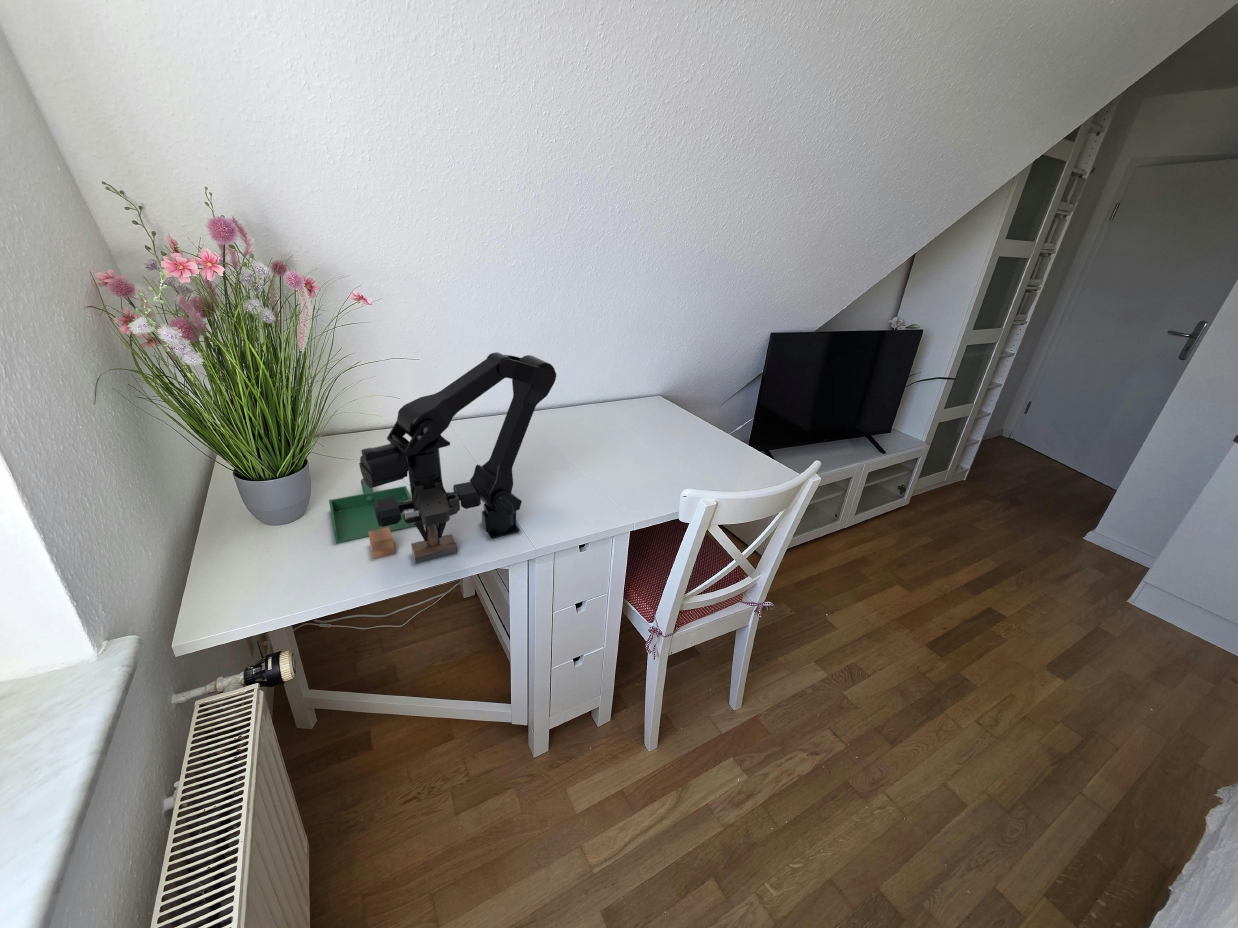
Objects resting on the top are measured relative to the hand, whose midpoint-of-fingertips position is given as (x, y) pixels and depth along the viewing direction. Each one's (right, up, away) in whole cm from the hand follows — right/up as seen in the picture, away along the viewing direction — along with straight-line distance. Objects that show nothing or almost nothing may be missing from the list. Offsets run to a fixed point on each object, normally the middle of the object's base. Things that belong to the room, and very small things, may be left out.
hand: (432, 538), depth 102 cm
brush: (0, -4, +2) cm, 4 cm away
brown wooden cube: (-11, -3, +2) cm, 11 cm away
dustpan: (-19, +5, +14) cm, 24 cm away
